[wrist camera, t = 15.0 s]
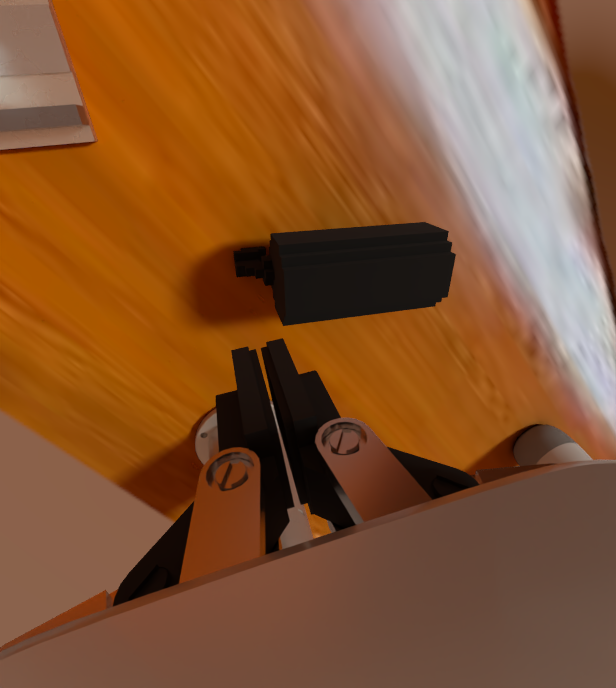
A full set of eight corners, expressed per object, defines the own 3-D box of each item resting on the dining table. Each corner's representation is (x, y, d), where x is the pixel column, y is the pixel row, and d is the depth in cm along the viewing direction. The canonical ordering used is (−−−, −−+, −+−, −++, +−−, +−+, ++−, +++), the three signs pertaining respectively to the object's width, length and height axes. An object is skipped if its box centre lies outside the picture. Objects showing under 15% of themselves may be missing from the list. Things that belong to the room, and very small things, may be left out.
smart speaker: (554, 441, 67) (630, 506, 55) (511, 466, 67) (577, 536, 55) (550, 409, 62) (633, 474, 50) (503, 437, 62) (574, 507, 50)
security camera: (229, 224, 34) (240, 254, 26) (408, 212, 38) (467, 234, 30) (238, 293, 38) (249, 339, 29) (400, 276, 41) (451, 311, 33)
